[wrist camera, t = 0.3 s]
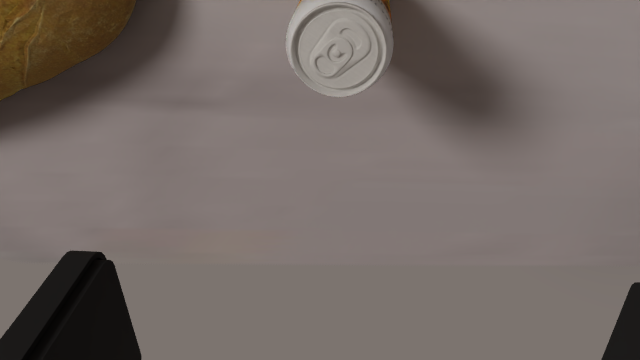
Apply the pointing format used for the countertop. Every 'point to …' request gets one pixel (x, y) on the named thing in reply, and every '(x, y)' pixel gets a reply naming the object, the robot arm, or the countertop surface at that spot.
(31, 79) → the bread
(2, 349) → the robot arm
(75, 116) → the countertop surface
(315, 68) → the beer can
